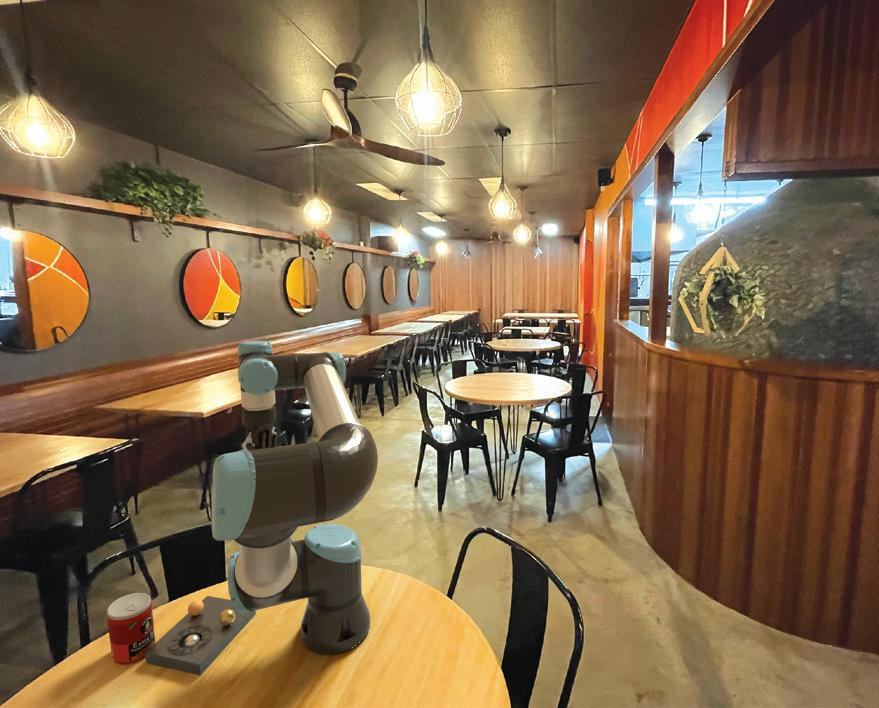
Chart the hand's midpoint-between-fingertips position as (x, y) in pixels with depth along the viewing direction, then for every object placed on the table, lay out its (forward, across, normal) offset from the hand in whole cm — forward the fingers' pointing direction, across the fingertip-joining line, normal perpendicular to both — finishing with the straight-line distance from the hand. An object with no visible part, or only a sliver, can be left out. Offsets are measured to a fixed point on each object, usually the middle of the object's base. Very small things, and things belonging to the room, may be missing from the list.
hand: (264, 500), depth 115 cm
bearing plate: (+24, +17, -5) cm, 30 cm away
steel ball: (+23, +21, -5) cm, 31 cm away
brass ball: (+20, +15, 0) cm, 25 cm away
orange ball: (+20, +14, -10) cm, 26 cm away
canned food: (+25, +24, -17) cm, 38 cm away
